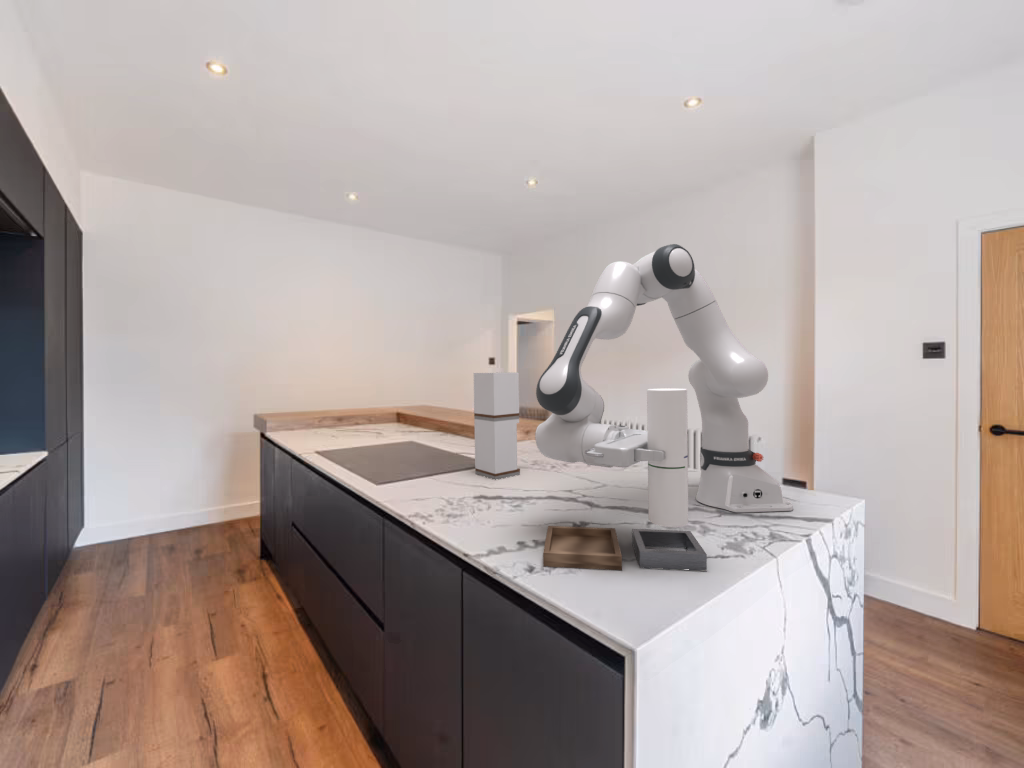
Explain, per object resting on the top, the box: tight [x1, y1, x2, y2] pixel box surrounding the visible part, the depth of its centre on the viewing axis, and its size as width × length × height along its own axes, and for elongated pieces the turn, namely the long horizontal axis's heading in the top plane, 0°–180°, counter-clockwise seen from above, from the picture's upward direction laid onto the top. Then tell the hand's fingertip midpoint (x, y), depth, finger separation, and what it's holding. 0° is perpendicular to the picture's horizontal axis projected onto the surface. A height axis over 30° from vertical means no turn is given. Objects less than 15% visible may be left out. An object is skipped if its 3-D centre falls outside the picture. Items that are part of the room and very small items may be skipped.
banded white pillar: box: [473, 371, 521, 481], centre depth 151 cm, size 11×11×35 cm
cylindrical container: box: [646, 387, 689, 528], centre depth 84 cm, size 7×7×25 cm
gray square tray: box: [631, 528, 708, 571], centre depth 84 cm, size 11×11×3 cm
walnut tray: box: [542, 525, 623, 571], centre depth 87 cm, size 14×14×2 cm
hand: (672, 452), depth 83 cm, fingers closed on cylindrical container, 7 cm apart
